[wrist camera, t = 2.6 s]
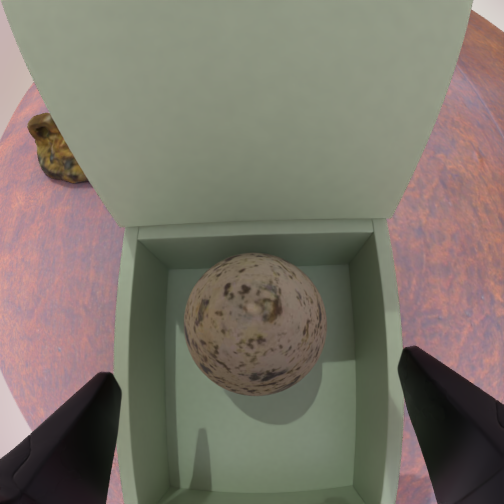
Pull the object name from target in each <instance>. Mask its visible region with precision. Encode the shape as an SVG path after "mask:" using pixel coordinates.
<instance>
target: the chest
mask: <svg viewBox="0 0 504 504" xmlns="http://www.w3.org/2000/svg"><path fill="white" fill-rule="evenodd" d="M244 253H265V254H270V255H274V256H277V257H280V258H282V259H284V260H286V261H288V262H290V263H292V264H293V265H295V266H296V267H298V268H299V269H300V270H301V271H303V272H304V273H305V274H306V275H307V276H308V277H309V279H310V280H311V281H312V282H313V284H314V285H315V287H316V288H317V290H318V292H319V294H320V296H321V298H322V301H323V303H324V307H325V311H326V318H327V333H326V339H325V344H324V347H323V350H322V353H321V355H320V357H319V359H318V361H317V362H316V364H315V365H314V367H313V368H312V369H311V371H310V372H309V373H308V374H307V375H306V376H305V377H304V378H303V379H302V380H300V381H299V382H298V383H297V384H295V385H293V386H292V387H290V388H288V389H286V390H284V391H281V392H278V393H275V394H271V395H265V396H247V395H241V394H237V393H234V392H231V391H228V390H226V389H224V388H222V387H220V386H218V385H217V384H215V383H214V382H212V381H211V380H210V379H209V378H208V377H207V376H206V375H205V374H204V373H203V372H202V371H201V370H200V369H199V368H198V366H197V365H196V363H195V362H194V360H193V358H192V356H191V354H190V352H189V349H188V347H187V343H186V339H185V334H184V314H185V308H186V304H187V301H188V298H189V296H190V294H191V291H192V289H193V288H194V286H195V284H196V283H197V282H198V280H199V279H200V278H201V277H202V276H203V274H204V273H205V272H206V271H207V270H209V269H210V268H211V267H213V266H214V265H215V264H217V263H218V262H220V261H222V260H224V259H226V258H229V257H231V256H235V255H239V254H244ZM402 350H403V344H402V329H401V317H400V307H399V297H398V289H397V281H396V274H395V267H394V260H393V254H392V248H391V242H390V236H389V231H388V226H387V221H386V218H360V219H292V220H257V221H229V222H206V223H185V224H167V225H150V226H134V227H125V232H124V239H123V246H122V254H121V262H120V270H119V280H118V290H117V302H116V316H115V334H114V377H115V379H116V380H117V382H118V384H119V386H120V387H121V390H122V400H121V409H120V419H119V429H118V436H117V442H116V443H117V453H118V463H119V471H120V479H121V486H122V493H123V499H124V504H395V502H396V496H397V489H398V481H399V473H400V463H401V452H402V438H403V417H404V394H403V390H402V387H401V383H400V379H399V375H398V371H397V367H398V363H399V360H400V357H401V353H402Z"/></svg>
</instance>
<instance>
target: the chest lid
mask: <svg viewBox="0 0 504 504" xmlns="http://www.w3.org/2000/svg"><path fill="white" fill-rule="evenodd" d="M1 2H2V5H3V8H4V11H5V14H6V16H7V19H8V22H9V24H10V27H11V30H12V32H13V35H14V37H15V40H16V42H17V45H18V47H19V49H20V52H21V54H22V56H23V59H24V61H25V63H26V65H27V67H28V70H29V72H30V74H31V76H32V78H33V81H34V83H35V85H36V87H37V89H38V91H39V93H40V95H41V97H42V99H43V101H44V103H45V105H46V107H47V109H48V111H49V112H50V114H51V116H52V118H53V120H54V122H55V124H56V125H57V127H58V129H59V131H60V133H61V135H62V136H63V138H64V140H65V142H66V143H67V145H68V147H69V149H70V150H71V152H72V154H73V155H74V157H75V159H76V160H77V162H78V164H79V165H80V167H81V169H82V170H83V172H84V174H85V175H86V177H87V178H88V180H89V182H90V183H91V185H92V186H93V188H94V190H95V191H96V193H97V194H98V196H99V197H100V199H101V200H102V202H103V203H104V205H105V206H106V208H107V209H108V211H109V212H110V214H111V215H112V217H113V218H114V220H115V221H116V223H117V224H118V226H119V227H134V226H150V225H167V224H185V223H206V222H229V221H257V220H292V219H360V218H392V216H393V214H394V212H395V210H396V208H397V206H398V204H399V202H400V200H401V198H402V196H403V194H404V192H405V190H406V188H407V186H408V184H409V182H410V180H411V177H412V175H413V173H414V171H415V169H416V167H417V164H418V162H419V160H420V158H421V156H422V153H423V151H424V149H425V146H426V144H427V142H428V139H429V137H430V135H431V132H432V130H433V127H434V125H435V122H436V120H437V117H438V115H439V112H440V109H441V107H442V104H443V101H444V99H445V96H446V93H447V90H448V87H449V85H450V82H451V79H452V76H453V73H454V70H455V66H456V63H457V60H458V57H459V53H460V50H461V47H462V43H463V40H464V36H465V32H466V28H467V24H468V20H469V16H470V12H471V7H472V3H473V0H1Z"/></svg>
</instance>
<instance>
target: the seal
mask: <svg viewBox="0 0 504 504" xmlns="http://www.w3.org/2000/svg"><path fill="white" fill-rule="evenodd" d="M27 128H28V130H29V132H30V134H31V135H32V137H33V138H34V139H35V143H36V145H37V155H38V160H39V164H40V166H41V168H42V170H43V171H44V172H45V173H46V175H47V176H49V177H50V178H53V179H61V180H65V181H68V182H70V183H76V182H84V181H89V180H88V178H87V177H86V175H85V174H84V172H83V170H82V169H81V167H80V165H79V164H78V162H77V160H76V159H75V157H74V155H73V154H72V152H71V150H70V149H69V147H68V145H67V143H66V142H65V140H64V138H63V136H62V135H61V133H60V131H59V129H58V127H57V125H56V124H55V122H54V120H53V118H52V116H51V114H50V113H43V114H40V115H36V116H34V117H33V118H31V120H30V121H29V123H28V126H27Z"/></svg>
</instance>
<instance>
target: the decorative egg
mask: <svg viewBox="0 0 504 504" xmlns="http://www.w3.org/2000/svg"><path fill="white" fill-rule="evenodd" d="M326 333H327V318H326V311H325V307H324V303H323V301H322V298H321V296H320V294H319V292H318V290H317V288H316V287H315V285H314V284H313V282H312V281H311V280H310V279H309V277H308V276H307V275H306V274H305V273H304V272H303V271H301V270H300V269H299V268H298V267H296V266H295V265H293V264H292V263H290V262H288V261H286V260H284V259H282V258H280V257H277V256H274V255H270V254H265V253H244V254H239V255H235V256H231V257H229V258H226V259H224V260H222V261H220V262H218V263H217V264H215V265H214V266H213V267H211V268H210V269H209V270H207V271H206V272H205V273H204V274H203V276H202V277H201V278H200V279H199V280H198V282H197V283H196V284H195V286H194V288H193V289H192V291H191V294H190V296H189V298H188V301H187V304H186V308H185V314H184V334H185V339H186V343H187V347H188V349H189V352H190V354H191V356H192V358H193V360H194V362H195V363H196V365H197V366H198V368H199V369H200V370H201V371H202V372H203V373H204V374H205V375H206V376H207V377H208V378H209V379H210V380H211V381H212V382H214V383H215V384H217V385H218V386H220V387H222V388H224V389H226V390H228V391H231V392H234V393H237V394H241V395H247V396H265V395H271V394H275V393H278V392H281V391H284V390H286V389H288V388H290V387H292V386H293V385H295V384H297V383H298V382H299V381H300V380H302V379H303V378H304V377H305V376H306V375H307V374H308V373H309V372H310V371H311V369H312V368H313V367H314V365H315V364H316V362H317V361H318V359H319V357H320V355H321V353H322V350H323V347H324V344H325V339H326Z"/></svg>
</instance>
